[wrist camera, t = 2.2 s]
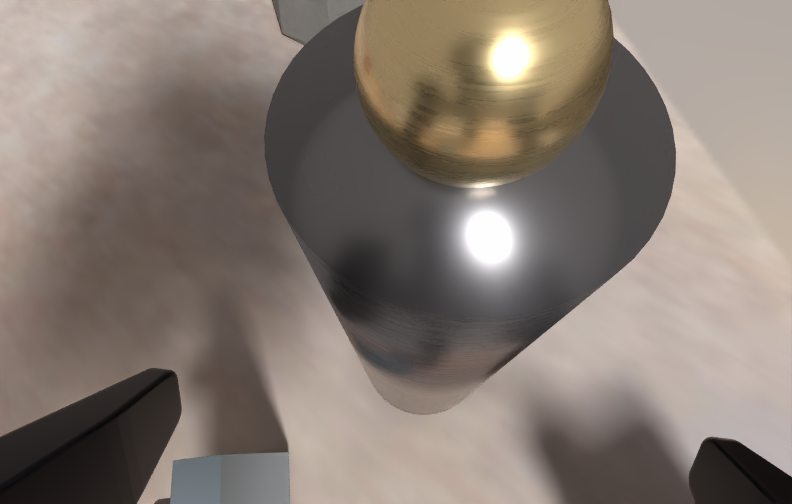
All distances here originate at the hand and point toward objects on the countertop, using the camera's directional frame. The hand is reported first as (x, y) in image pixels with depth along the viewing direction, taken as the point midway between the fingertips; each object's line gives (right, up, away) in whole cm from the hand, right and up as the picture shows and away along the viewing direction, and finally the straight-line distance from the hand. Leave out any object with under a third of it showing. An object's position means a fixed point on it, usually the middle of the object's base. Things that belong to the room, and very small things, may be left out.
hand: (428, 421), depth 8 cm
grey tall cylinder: (+1, -1, +12) cm, 12 cm away
